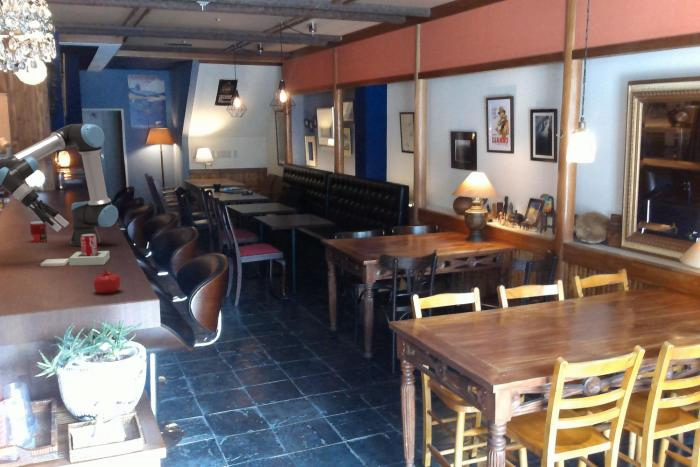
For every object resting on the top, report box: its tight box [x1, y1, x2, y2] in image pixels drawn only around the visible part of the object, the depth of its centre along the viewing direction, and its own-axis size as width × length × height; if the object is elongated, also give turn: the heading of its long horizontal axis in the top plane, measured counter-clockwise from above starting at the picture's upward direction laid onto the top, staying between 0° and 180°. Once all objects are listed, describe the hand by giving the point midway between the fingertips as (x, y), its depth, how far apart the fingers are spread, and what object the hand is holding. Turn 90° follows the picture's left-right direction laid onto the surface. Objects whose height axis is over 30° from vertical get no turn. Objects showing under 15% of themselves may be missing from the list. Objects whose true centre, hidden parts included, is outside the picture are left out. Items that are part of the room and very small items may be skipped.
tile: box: [40, 258, 69, 267], centre depth 297 cm, size 10×10×1 cm
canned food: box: [29, 220, 48, 243], centre depth 350 cm, size 8×8×11 cm
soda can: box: [80, 234, 99, 256], centre depth 300 cm, size 7×7×13 cm
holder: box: [68, 250, 111, 267], centre depth 301 cm, size 15×15×4 cm
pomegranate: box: [92, 268, 122, 295], centre depth 247 cm, size 10×10×9 cm
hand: (63, 227), depth 296 cm, fingers open, 13 cm apart
